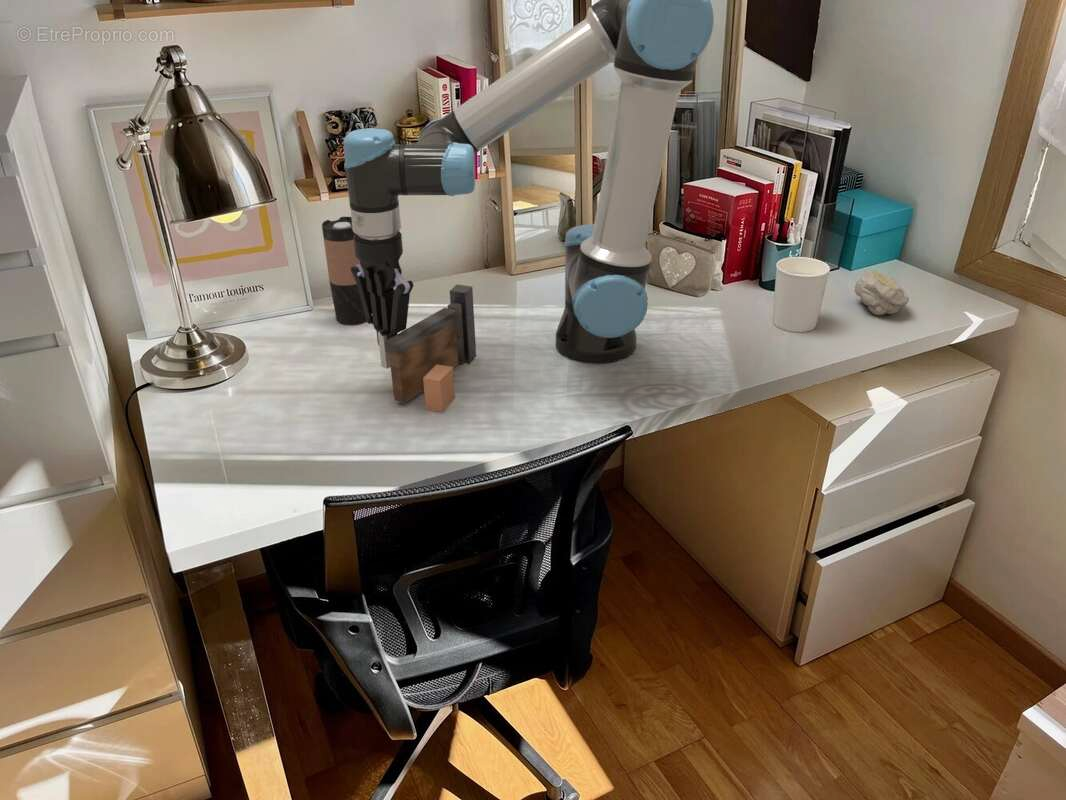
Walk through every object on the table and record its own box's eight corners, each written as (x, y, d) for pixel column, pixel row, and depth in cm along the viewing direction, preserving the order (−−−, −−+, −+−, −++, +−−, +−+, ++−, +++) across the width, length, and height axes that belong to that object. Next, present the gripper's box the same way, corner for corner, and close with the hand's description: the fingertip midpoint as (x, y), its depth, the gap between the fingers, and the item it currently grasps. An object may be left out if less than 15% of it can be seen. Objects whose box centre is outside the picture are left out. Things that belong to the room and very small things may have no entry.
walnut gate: (456, 358, 156) (452, 301, 150) (468, 361, 155) (464, 304, 149) (390, 400, 143) (383, 340, 138) (402, 404, 142) (396, 344, 136)
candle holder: (764, 329, 166) (772, 272, 160) (772, 310, 174) (780, 254, 168) (817, 337, 163) (827, 278, 157) (822, 317, 170) (832, 260, 164)
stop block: (455, 398, 145) (452, 367, 142) (442, 412, 141) (439, 381, 138) (439, 395, 146) (436, 364, 143) (426, 409, 142) (423, 378, 139)
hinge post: (476, 356, 158) (472, 286, 151) (469, 364, 156) (465, 293, 149) (461, 354, 159) (456, 284, 152) (454, 361, 157) (449, 290, 150)
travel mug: (365, 327, 170) (352, 230, 160) (329, 324, 171) (314, 228, 161) (378, 311, 176) (367, 217, 166) (343, 308, 178) (330, 215, 167)
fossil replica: (874, 295, 180) (838, 308, 176) (877, 257, 176) (840, 270, 172) (921, 312, 170) (884, 326, 166) (925, 273, 166) (886, 286, 163)
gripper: (332, 229, 135) (348, 361, 147) (385, 248, 128) (398, 385, 140) (369, 217, 140) (382, 346, 152) (422, 235, 133) (432, 368, 145)
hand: (390, 364), depth 146 cm, fingers closed
